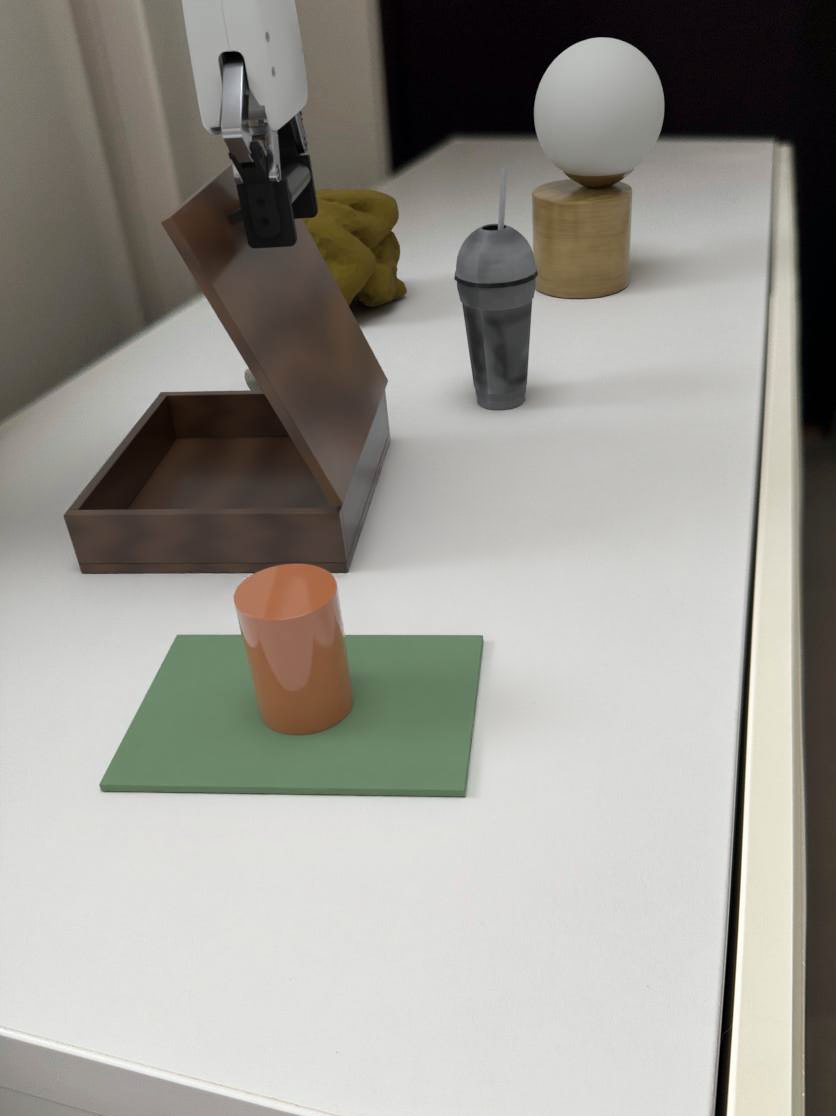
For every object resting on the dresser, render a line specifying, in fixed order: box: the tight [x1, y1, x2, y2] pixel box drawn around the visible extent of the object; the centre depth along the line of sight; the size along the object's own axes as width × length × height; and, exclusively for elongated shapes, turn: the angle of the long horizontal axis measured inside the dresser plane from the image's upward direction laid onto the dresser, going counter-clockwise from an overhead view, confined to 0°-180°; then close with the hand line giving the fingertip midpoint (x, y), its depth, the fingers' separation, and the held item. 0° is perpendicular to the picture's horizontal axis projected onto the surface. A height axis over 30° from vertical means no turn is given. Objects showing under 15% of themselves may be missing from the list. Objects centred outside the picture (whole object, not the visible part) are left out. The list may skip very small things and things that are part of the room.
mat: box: [99, 634, 484, 797], centre depth 62 cm, size 20×14×1 cm
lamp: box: [531, 36, 665, 299], centre depth 118 cm, size 15×14×25 cm
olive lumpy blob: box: [302, 188, 408, 308], centre depth 117 cm, size 14×14×14 cm
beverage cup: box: [454, 166, 538, 411], centre depth 92 cm, size 7×7×20 cm
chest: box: [63, 389, 391, 574], centre depth 83 cm, size 20×22×5 cm
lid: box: [160, 140, 389, 508], centre depth 74 cm, size 20×22×5 cm
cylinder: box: [233, 564, 354, 735], centre depth 60 cm, size 6×6×8 cm
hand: (284, 228), depth 71 cm, fingers closed on lid, 6 cm apart
